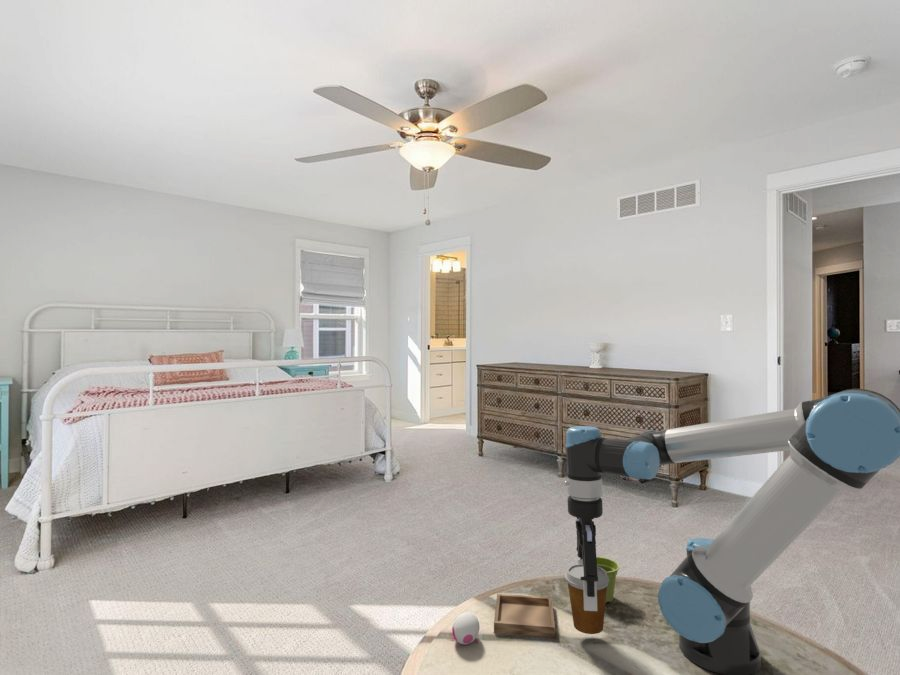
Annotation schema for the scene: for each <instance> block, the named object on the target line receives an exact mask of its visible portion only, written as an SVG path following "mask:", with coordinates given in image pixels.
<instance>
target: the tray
mask: <svg viewBox="0 0 900 675" xmlns="http://www.w3.org/2000/svg"><path fill="white" fill-rule="evenodd" d="M494 608H495V611H494V618H493V620H494V621H493V633H495V634H496V633H497V634H507V635H509V634H510V635H520V636H521V635H522V636H532V637H533V636H534V637H546V638H556V624H555V616H554V605H553V598H552V597H549V596H548V597H547V596H536V595H522V594H510V593H509V594H506V593H497V594H496V601H495V607H494Z"/></svg>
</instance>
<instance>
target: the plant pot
mask: <svg viewBox="0 0 900 675" xmlns="http://www.w3.org/2000/svg"><path fill="white" fill-rule="evenodd" d="M596 559H597V566H598V567H601V568H603V569H604V570H605V571H606V572H607V576H608V577H609V583H608V586H607V592H606V603H608V602H609V603H612V602H613V600H614V594H615V586H616V577H617V575H618V571H619V570H620V564H619V563H618V562H616V561H614V560H613V559H611V558H608V557H601V556H596Z"/></svg>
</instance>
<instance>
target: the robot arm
mask: <svg viewBox="0 0 900 675" xmlns="http://www.w3.org/2000/svg"><path fill="white" fill-rule="evenodd" d="M565 450H566V451H565V452H566V472H567V473H566V476H567V477H566V478H567V480H565V481H564V486H567V494H568V496H567V512H568V514H569V515H570V516H571V517H574V518H576V520H575V528H576V529H575V530H576V548H575V549H576V551H577V564H583V569H584V577H581V580H583V596H584V611H597V582H598V575H597V559H596V557H597V543H596V542H597V541H596V536H597V533H596V532H597V527H596V524H595V521H593V520H594V519H598V518H601V516H602V515H603V514H604V513H603V512H604V511H603V499H602V498H601V497H603V478H602V474H607V475H613V476H621V477H625V478H626V477H627V478H631V479H634V480H640V479H641V480H653V479H654V478H655V477H656V476H657V473H658V472H659V469H660V466H666V465H673V464H678V463H679V464H681V463H688V462H697V461H706V460H707V461H708V460H716V459H725V458H731V457H741V456H750V455H751V456H752V455H757V454H758V455H759V454H767V453H776V452H785V451H789V455H788V456H787V457H786V458H785V460H784V461H783V462H782V463H781V464H780V465H779V466H778V467H777V468H776V470H775V471H774V472H773V473H772V474H771V475H770V477H768V479H767V480H766V481H765V482H764V483H763V485H761V487H759V489H758V490H757V491H756V493H754V494H753V495H752V497H751V498H750V499H749V500H748V501H747V503H746V504H745V505H744V506H743V507H742V508H741V509H740V511H738V513H736V515H735V516H734V517H733V518H732V519H731V521H729V522H728V524H727V525H726V526H725V527H724V528H723V530H722V531H721V532H720V533H719V534H718V535H717V536H716V538H715V539H713V538H705V537H694V538H690V539H688V541H687V542H686V548H685V551H686V557H685V558H684V559H683V561H681V563H680V564H679V565H678V566H677V567H676V568H675V570H674V571H673V572H672V573H671V574H670V575H669V576H667V577H665V578H664V579H663V580H662V582H661V585H660V587H659V589H658V594H657V600H658V605H659V610H660V612H661V614H662V616H663V618H664V620H665V621H666V622H667V624H668V625H669V626H670V627H671V628H672V629H673V630H674V631H675V632H676V633H677V634H678V644H679V650H680V652H681V653H682V654H683V656H684V657H686V658H687V659H688V660H689V661H691V662H692V663H693V664H695V665H697V666H699V667H700V668H703V669H704V670H707V671H710V672H713V673H715V674H719V675H750V674H752V675H755V674H756V673H758V672H759V671H760V669H761V666H762V661H761V660H762V658H761V657H762V656H761V650H760V647H759V644H758V641H757V638H756V635H755V633H754V630H753V627H752V625H751V601H752V600H753V597H754V593H753V590H752V585H753V584H754V583H755V582H756V581H757V580H758V578H760V577H761V575H763V574H764V572H765V571H766V570H767V569H768V568H769V567H770V566H771V565H772V564H773V563H774V562H776V560H777V559H778V558H779V557H780V556H781V555H782V554H783V553H784V552H785V551H786V550H787V549H788V548H789V546H790V545H791V544H793V542H795V540H797V539H798V537H799V536H801V534H802V533H803V532H804V531H805V530H806V529H807V528H808V527H809V526H810V524H812V523H813V522H814V521H815V520H816V519H817V518H818V517H819V516H820V515H821V513H823V511H824V510H826V508H828V507H829V506H830V504H831V503H833V501H834V500H835V499H836V498H837V497H839V495H840V494H842V492H843V491H861V490H862V489H863V488H864V487H865V486H866V485H867V483H869V482H870V481H871V479H873V478H874V477H875V476H876V475H877V474H878V472H879V471H881V470H882V469H885V468H887V467H888V466H890V465H892V464H893V463H894V462H896V461H897V459H898V458H899V457H900V408H899V407H898V405H897V404H896V403H895V402H893V400H891V399H890V398H888V397H887V396H885V395H883V393H880V392H876V391H874V390H869V389H865V388H851V389H850V388H849V389H846V390H845V389H844V390H841V391H839V392H836V393H833V394H830V395H827V396H824V397H823V396H822V397H819V398H816V399H811V400H806V401H801V402H800V403H799V404H798V405H797V406H796V407H795V408H790V409H784V410H779V411H778V410H777V411H772V412H764V413H760V414H753V415H747V416H742V417H736V418H729V419H724V420H723V419H722V420H716V421H711V422H706V423H705V422H704V423H699V424H698V423H697V424H692V425H687V426H680V427H675V428H668V429H662V430H650V431H645V432H643V433H641V434H639V435H635V436H632V437H629V438H625V439H616V438H606V437H602V434H601V430H600V428H599V427H597V426H588V425H578V426H572V427H569V428H568V429H567V430H566V440H565ZM757 671H758V672H757ZM754 673H755V674H754Z"/></svg>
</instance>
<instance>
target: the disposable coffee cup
mask: <svg viewBox="0 0 900 675" xmlns="http://www.w3.org/2000/svg"><path fill="white" fill-rule="evenodd" d="M597 575H598V582H597V611H584V596H583V580H581V577H584V569H583V564H578V563H575V564H572V565H570V566H568V567H567V569H566V572H565V574H564V577H565V581H566V583H567V588H568V595H569V600H570V608H571V614H572V615H571V616H572V621H573V626H574V629H575V630H576V631H578V632H580V633H583V634H587V635H596V634H600V633H602V631H603V630H604V624H605V623H604V621H605V611H606V604H607V602H606V592H607V586H608V583H609V577H608V576H607V572H606V571H605V570H604V569H603V568H601V567H598V566H597Z"/></svg>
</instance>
